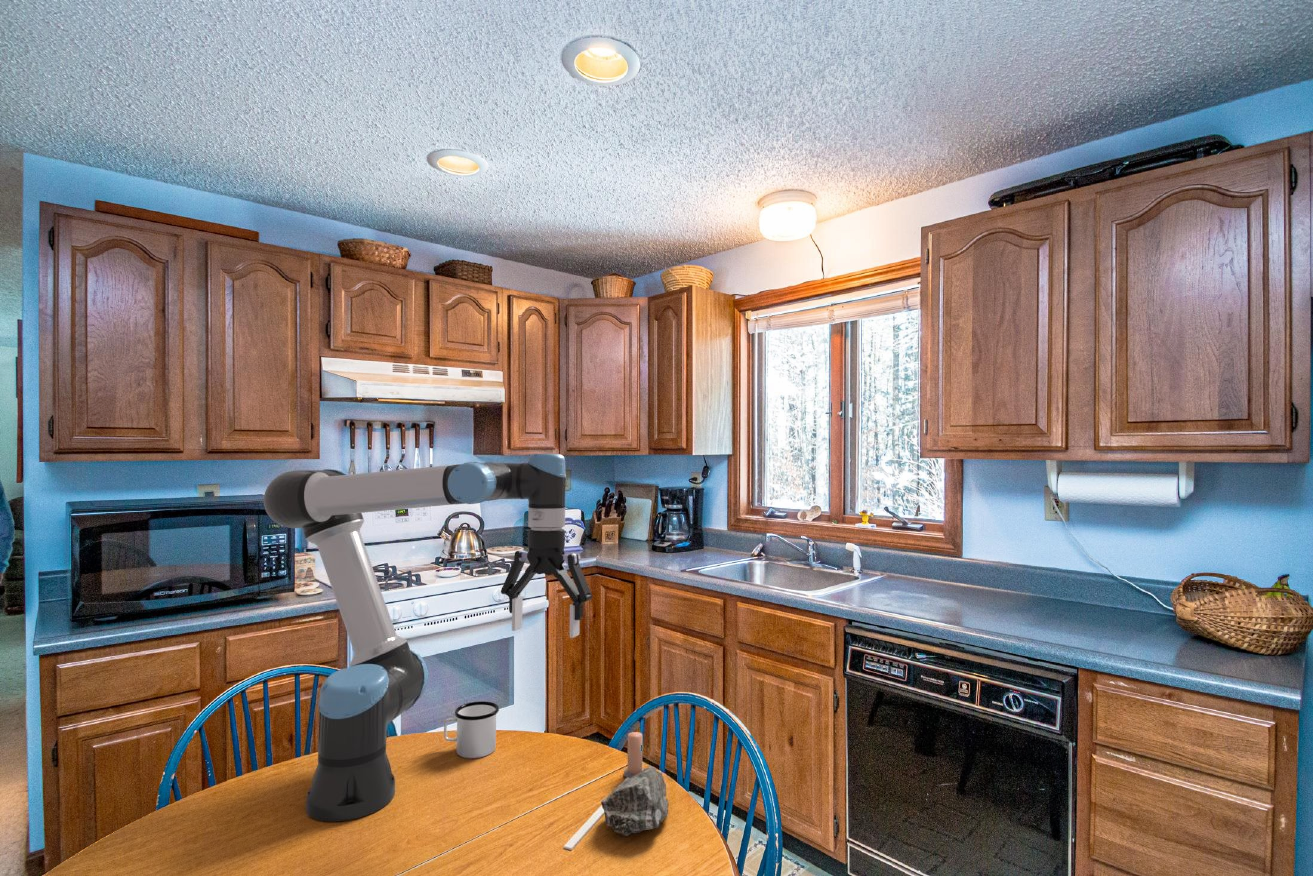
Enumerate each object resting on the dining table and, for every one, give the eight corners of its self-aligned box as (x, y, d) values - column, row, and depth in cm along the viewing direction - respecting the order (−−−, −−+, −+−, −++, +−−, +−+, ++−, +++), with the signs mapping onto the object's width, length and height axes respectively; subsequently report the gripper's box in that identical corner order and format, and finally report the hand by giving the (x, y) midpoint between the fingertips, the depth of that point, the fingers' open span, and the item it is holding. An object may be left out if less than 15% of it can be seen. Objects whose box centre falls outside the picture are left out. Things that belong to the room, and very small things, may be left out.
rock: (671, 835, 106) (633, 785, 107) (627, 871, 107) (589, 822, 107) (676, 782, 124) (643, 740, 125) (638, 813, 125) (606, 771, 126)
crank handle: (556, 846, 107) (556, 796, 107) (629, 768, 135) (629, 729, 135) (579, 852, 105) (580, 802, 106) (648, 772, 133) (649, 732, 133)
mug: (503, 742, 147) (504, 701, 147) (490, 761, 137) (491, 718, 138) (452, 740, 148) (453, 700, 148) (435, 759, 138) (436, 716, 139)
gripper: (485, 527, 134) (483, 630, 133) (592, 532, 125) (590, 643, 124) (506, 524, 141) (504, 622, 140) (609, 529, 132) (608, 634, 131)
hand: (545, 632), depth 132 cm, fingers open, 13 cm apart
